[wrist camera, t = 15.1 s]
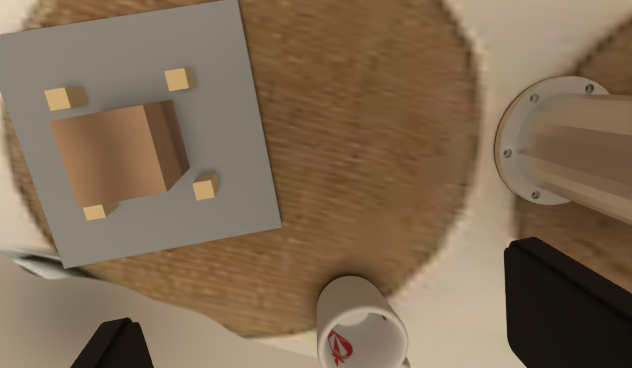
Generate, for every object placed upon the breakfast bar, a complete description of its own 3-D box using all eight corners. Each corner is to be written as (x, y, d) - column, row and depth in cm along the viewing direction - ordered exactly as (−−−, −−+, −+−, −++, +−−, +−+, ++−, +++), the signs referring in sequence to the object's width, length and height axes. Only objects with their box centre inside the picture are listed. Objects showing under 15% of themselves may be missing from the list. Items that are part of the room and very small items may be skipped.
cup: (417, 311, 43) (448, 361, 35) (365, 360, 44) (385, 420, 36) (347, 250, 41) (364, 290, 33) (293, 304, 41) (298, 355, 34)
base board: (238, 1, 34) (233, -10, 29) (281, 221, 39) (282, 239, 35) (-6, 39, 33) (-49, 33, 28) (72, 261, 38) (46, 284, 33)
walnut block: (172, 99, 34) (142, 104, 26) (190, 167, 35) (167, 192, 28) (100, 111, 33) (48, 121, 26) (121, 180, 35) (78, 208, 27)
